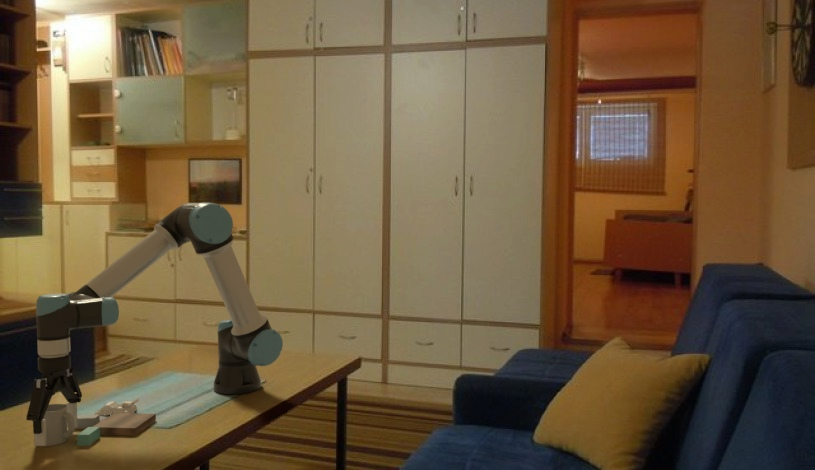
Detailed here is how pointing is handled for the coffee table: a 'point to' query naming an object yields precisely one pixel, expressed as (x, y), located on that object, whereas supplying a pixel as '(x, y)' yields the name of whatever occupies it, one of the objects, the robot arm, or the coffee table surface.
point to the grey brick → (87, 421)
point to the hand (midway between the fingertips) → (56, 436)
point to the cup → (58, 424)
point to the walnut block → (125, 423)
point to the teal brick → (88, 436)
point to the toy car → (118, 408)
